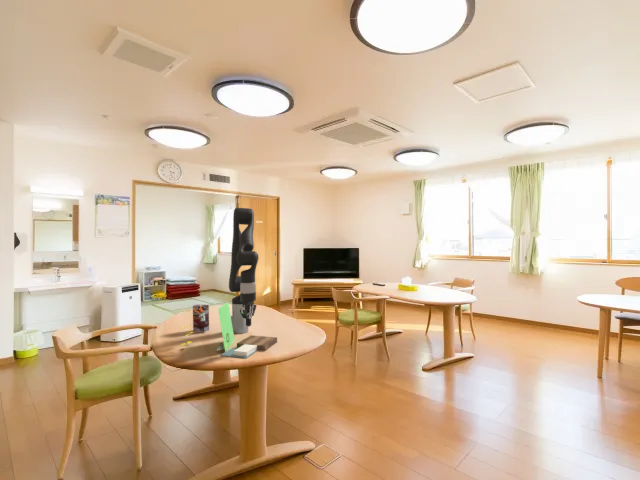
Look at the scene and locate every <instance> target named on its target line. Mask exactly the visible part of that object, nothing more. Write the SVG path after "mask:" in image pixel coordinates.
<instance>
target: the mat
mask: <svg viewBox="0 0 640 480" xmlns="http://www.w3.org/2000/svg"><path fill="white" fill-rule="evenodd" d="M236 349H238V348H237V347H231V348H230V349H227V351H226V352H225V351H224V352H223V353H221V354H220V355H219V356H220V357H227V358H228V357H230V358H238V359H249V357H250V356H253V354H255V353H257V352H258V351H259V350H256V351H254V352H253V353H251V354H250V355H248V356H238V355H234V350H236Z"/></svg>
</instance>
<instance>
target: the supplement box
mask: <svg viewBox="0 0 640 480" xmlns="http://www.w3.org/2000/svg"><path fill="white" fill-rule="evenodd" d="M200 305H201V308H202V310H203V311H204V312H205V313H206V315H205V316H206V318H205V321H200V320H201V317H202V316H200V315H199V314H198V313H197V312H195V311H194V310H193V308H195V310H196V311H199V313H201V311H200V310H199V308H200ZM199 316H200V317H199ZM202 318H203V317H202ZM192 328H193V329H192V330H193V331H192V332H195V331H199V332H198V333H203V332H205V333H207V332H209V331H210V307H209V304H199V303H198V304H194V305H192ZM206 331H207V332H206Z"/></svg>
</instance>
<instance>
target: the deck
mask: <svg viewBox="0 0 640 480" xmlns="http://www.w3.org/2000/svg"><path fill="white" fill-rule="evenodd" d="M277 343H278V337H275V336H264V335H250V334H249V336H247V337H245V338H243V339H242V340H239V342H237V343H236V348H239V347H241V346H243V345H244V344H248V345H257V350H258V351H263V352H266V351H268V350H269V349H270V348H272V346H274V345H276V344H277Z"/></svg>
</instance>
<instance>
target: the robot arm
mask: <svg viewBox="0 0 640 480" xmlns="http://www.w3.org/2000/svg"><path fill="white" fill-rule="evenodd" d="M232 219H233V223H232V224H233V225H232V227H233V230H232V245H231V259H230V261H231V262H230V263H231V265H230V271H229V272H230V274H229V278H228V290H229V292H231V293H239V292H240V293H239V294H238V295H237V296H235V297H232V299H231V314H232V315H230V316H231V322H232V328H233V334H244V333H247V332H249V327H251V326H252V319H253V316H254V315H255V312H256V310H257V304H255V302H256V299H257V290H256V289H257V288H256V271H257V265H258V263H259V254H258V252H257V251H255V250H254V248H255V247H254V245H255V244H254V229H255V228H254V227H255V213H254V210H253V209H252V208H249V207H248V208H247V207H235V208H234V210H233V218H232ZM240 225H245V226H246V225H247V226H246V228H245V229H244V230H243V231H242V232H241V229H240ZM243 266H250V267H249V268H248V269H245V270H241V272H240V275H238V273H239V270H240V269H241V268H242V267H243ZM237 275H238V276H237Z"/></svg>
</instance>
